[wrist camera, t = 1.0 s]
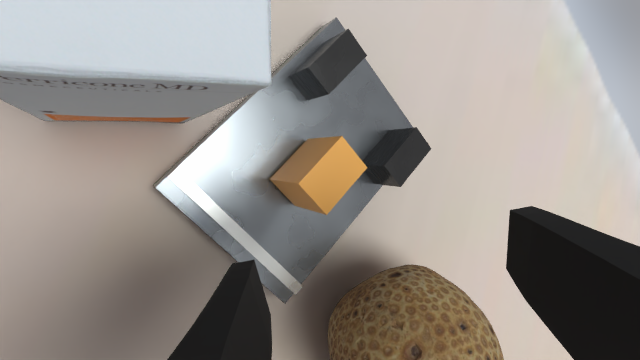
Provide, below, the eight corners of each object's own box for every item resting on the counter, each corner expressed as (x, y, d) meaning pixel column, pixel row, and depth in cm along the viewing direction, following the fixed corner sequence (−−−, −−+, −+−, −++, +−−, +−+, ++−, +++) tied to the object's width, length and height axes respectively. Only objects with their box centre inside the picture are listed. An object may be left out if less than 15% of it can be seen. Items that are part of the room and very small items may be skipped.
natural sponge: (402, 228, 26) (548, 266, 17) (418, 348, 27) (562, 440, 18) (280, 271, 22) (388, 350, 13) (306, 409, 23) (421, 564, 14)
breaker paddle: (294, 205, 20) (326, 215, 17) (269, 179, 19) (298, 183, 16) (330, 165, 21) (367, 167, 18) (307, 138, 20) (342, 135, 17)
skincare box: (41, 124, 16) (-101, 65, 6) (33, 21, 16) (-131, -242, 5) (189, 126, 19) (278, 89, 9) (185, 39, 19) (272, -111, 8)
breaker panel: (274, 294, 22) (304, 320, 18) (152, 185, 18) (160, 192, 15) (405, 139, 26) (449, 137, 22) (323, 25, 22) (361, 1, 19)
